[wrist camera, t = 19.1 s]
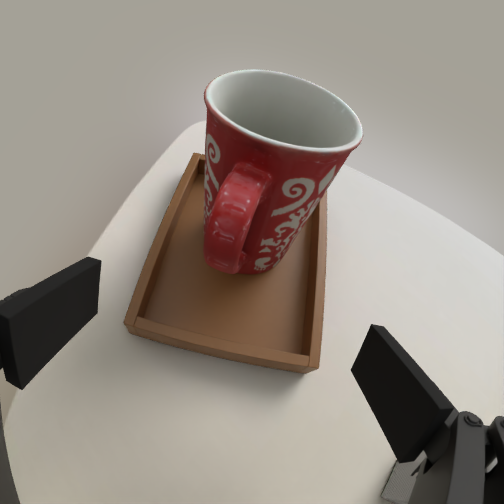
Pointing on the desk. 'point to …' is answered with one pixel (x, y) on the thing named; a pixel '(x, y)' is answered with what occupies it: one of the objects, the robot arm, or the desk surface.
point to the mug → (268, 163)
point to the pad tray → (231, 291)
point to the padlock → (406, 480)
